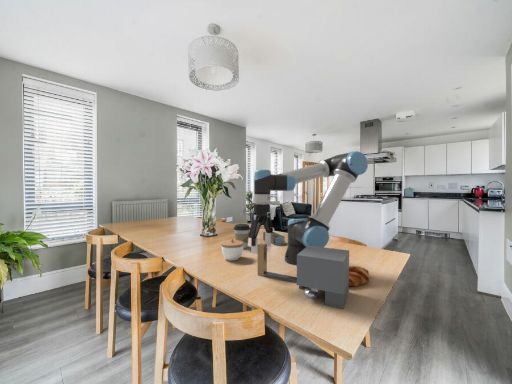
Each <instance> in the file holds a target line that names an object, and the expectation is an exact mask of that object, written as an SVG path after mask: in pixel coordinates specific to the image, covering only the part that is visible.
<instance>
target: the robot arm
mask: <svg viewBox="0 0 512 384" xmlns="http://www.w3.org/2000/svg"><path fill="white" fill-rule="evenodd" d="M368 165H369V162H368V159H367V157H366V155H365V154H364V153H362V152H361V151H349V152H346V153H341V154H336V155H334V156H333V155H332V157H329V158H326V159H324V160H320V161H319V163H315V164H311V165H308V166H304V167H300V168H296V169H293V170H290V171H285V172H282V173H278V174H272V173H271V170H269V169H256V170H255V171H254V174H253V175H254V176H253V177H254V178H253V212H254V213H256V214H252V216H251V217H252V219H251V224H250V226H249V227H250V231H249V235H248V237H249V239H250V241H251V242H250V243H251V244H250V245H251V246H250V253H251V254H257V255H258V250H257V249H258V238H257V237H258V234H259V232H260V229H261V227H262V226H263V228H264V231H265V232H267V233H265V240H264V244H267V248H268V247H272V244H271V233H273V232H274V227H273V223H272V218H271V204H270V203H271V199H272V197H271V192H273V191H277V192H282V191H283V192H290V191H291V192H292V191H294V190H295V189H296V185H297V184H301V183H305V182H308V181H312V180H315V179H318V178H321V177H323V178H328V177H333V178H332V180H331V181H330V183H329V185H328V187H327V188H326V190H325V192H324V194H323V196H322V198H321V200H320V201H319V203H318V205H317V207H316V209H315V211H314V213H313V214H312V215H309V216H307V218H291V219H288V220H287V247H286V251H285V253H284V262H285V263H288V264H291V265H296V266H297V254H299V253H300V252H301V251H302V250H303V249H305V248H306V247H307V246H316V247H324V248H326V246H327V245H328V242H329V241H330V235H329V231H330V228H331V226H330V225H329V224H330V222H331V220H332V218H333V217H334V214H335V213H336V210H337V209H338V207H339V205H340V203H341V202H342V200H343V198H344V196H345V194H346V193H347V190H348V188H349V187H350V185H351V183H355V182H356V180H357V179H358V177H359V176H362V175H363V174H365V173H366V172H367V170H368Z"/></svg>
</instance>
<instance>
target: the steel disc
mask: <svg viewBox="0 0 512 384" xmlns="http://www.w3.org/2000/svg"><path fill="white" fill-rule="evenodd" d="M304 297H306V298H307V299H312V300H313V299H318V298H319V289H314V288H309V287H305V288H304Z"/></svg>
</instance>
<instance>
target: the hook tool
mask: <svg viewBox="0 0 512 384" xmlns="http://www.w3.org/2000/svg"><path fill="white" fill-rule="evenodd" d="M267 250H268V246H267V244H265V243H261V242H260V243H259V244H258V249H257V276H260V277H267V278H271V279H276V280H280V281H286V282H290V283H295V284H297V276H292V275H287V274H282V273H276V272H271V271H268V257H267V256H268V251H267ZM303 288H305V287H304V286H299V285H298V289H299V290H303Z"/></svg>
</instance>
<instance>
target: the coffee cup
mask: <svg viewBox="0 0 512 384" xmlns="http://www.w3.org/2000/svg"><path fill="white" fill-rule="evenodd" d="M250 227H251V226H250V225H249V224H248V223H237V224H235V225H234V227H233V230H234V238H235V239H234V240H239V241H242V242H244V245H243V250H245V249H247V248H248V246H249V245H248V244H249V239H250V238H249V237H248V235H249V231H250Z"/></svg>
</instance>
